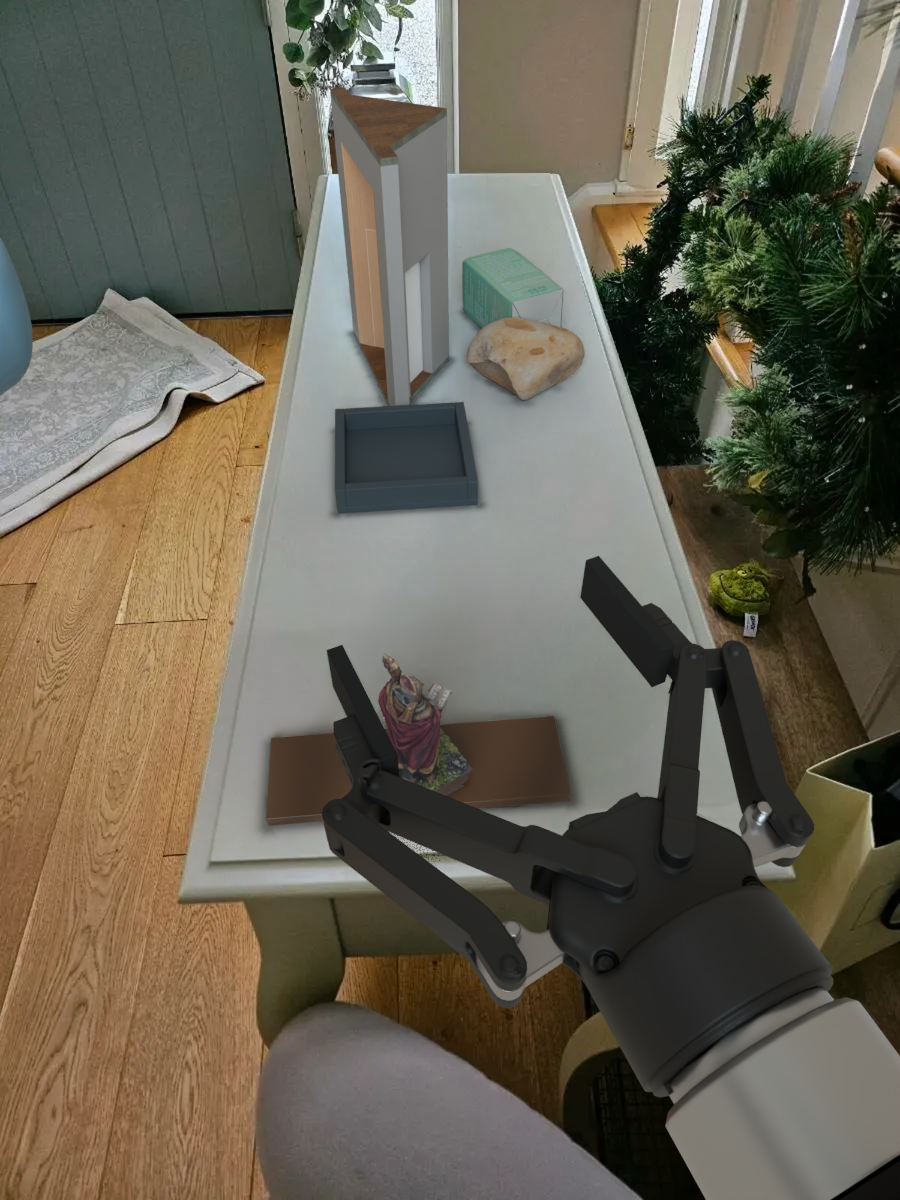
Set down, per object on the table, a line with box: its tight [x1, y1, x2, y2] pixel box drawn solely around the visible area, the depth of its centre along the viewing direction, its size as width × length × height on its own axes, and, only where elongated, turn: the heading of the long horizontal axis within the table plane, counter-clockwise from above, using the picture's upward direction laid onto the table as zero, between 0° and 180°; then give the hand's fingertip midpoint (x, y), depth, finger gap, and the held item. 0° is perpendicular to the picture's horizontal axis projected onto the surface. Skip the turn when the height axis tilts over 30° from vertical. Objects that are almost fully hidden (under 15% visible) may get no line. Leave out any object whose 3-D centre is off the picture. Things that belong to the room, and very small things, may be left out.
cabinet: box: [329, 86, 450, 406], centre depth 94 cm, size 21×10×28 cm, turn 18°
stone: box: [466, 317, 586, 401], centre depth 100 cm, size 14×11×8 cm
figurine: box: [377, 652, 473, 796], centre depth 59 cm, size 6×6×12 cm
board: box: [265, 715, 572, 827], centre depth 64 cm, size 22×7×1 cm, turn 95°
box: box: [461, 247, 565, 329], centre depth 108 cm, size 7×14×8 cm, turn 26°
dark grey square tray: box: [334, 401, 479, 515], centre depth 89 cm, size 14×14×3 cm
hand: (468, 618), depth 42 cm, fingers open, 13 cm apart
